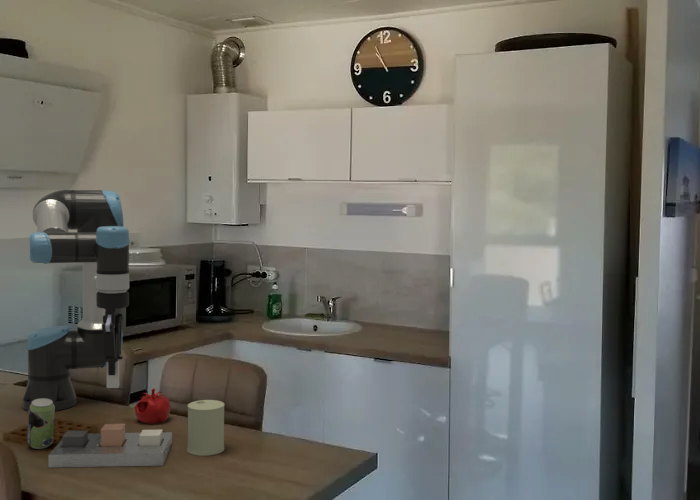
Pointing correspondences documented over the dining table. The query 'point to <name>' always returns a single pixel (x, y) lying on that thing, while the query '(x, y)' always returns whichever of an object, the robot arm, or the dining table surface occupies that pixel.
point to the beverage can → (41, 423)
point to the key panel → (111, 453)
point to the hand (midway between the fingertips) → (112, 387)
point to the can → (205, 427)
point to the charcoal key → (75, 439)
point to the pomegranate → (153, 408)
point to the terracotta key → (113, 435)
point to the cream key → (150, 438)
